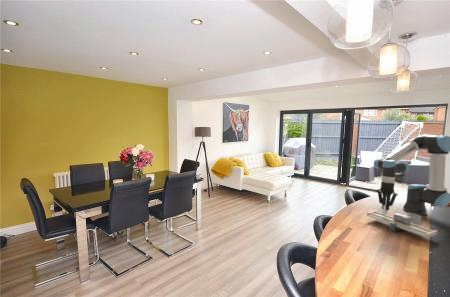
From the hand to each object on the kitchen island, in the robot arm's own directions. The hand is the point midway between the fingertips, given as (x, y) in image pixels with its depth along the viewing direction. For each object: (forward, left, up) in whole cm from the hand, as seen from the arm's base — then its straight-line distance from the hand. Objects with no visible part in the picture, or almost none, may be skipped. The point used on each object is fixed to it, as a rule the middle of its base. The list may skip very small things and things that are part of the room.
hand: (384, 214), depth 160 cm
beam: (0, +9, -4) cm, 10 cm away
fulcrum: (0, +9, -8) cm, 12 cm away
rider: (0, +11, -3) cm, 11 cm away
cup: (-13, +10, -8) cm, 19 cm away
